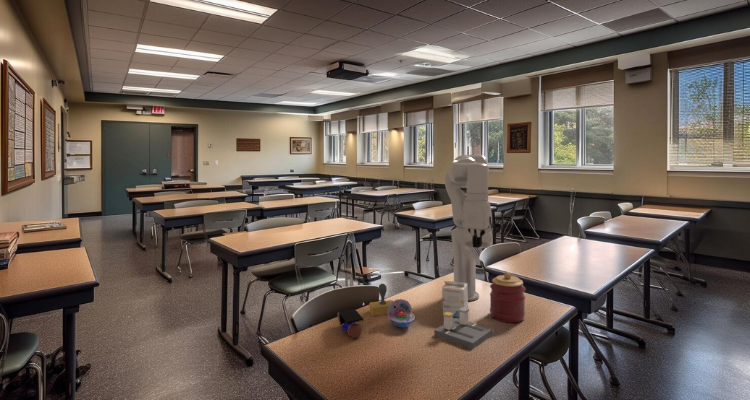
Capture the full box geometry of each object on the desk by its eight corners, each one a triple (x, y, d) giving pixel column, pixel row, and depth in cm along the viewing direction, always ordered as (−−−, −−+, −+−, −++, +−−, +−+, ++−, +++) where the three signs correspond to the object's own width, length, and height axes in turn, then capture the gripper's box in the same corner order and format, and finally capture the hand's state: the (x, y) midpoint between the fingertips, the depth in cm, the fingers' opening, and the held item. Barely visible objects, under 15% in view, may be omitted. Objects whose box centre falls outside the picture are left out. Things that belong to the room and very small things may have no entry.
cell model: (395, 334, 137) (394, 308, 136) (383, 321, 149) (383, 297, 148) (420, 330, 140) (420, 304, 139) (407, 317, 152) (407, 293, 151)
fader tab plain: (458, 323, 139) (458, 309, 139) (462, 321, 141) (462, 307, 140) (465, 325, 137) (465, 311, 137) (468, 323, 139) (468, 308, 139)
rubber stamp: (392, 308, 162) (392, 280, 160) (396, 313, 156) (396, 284, 155) (369, 311, 159) (368, 282, 158) (372, 316, 154) (372, 287, 152)
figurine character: (336, 329, 146) (347, 342, 132) (335, 309, 146) (346, 319, 132) (353, 326, 148) (366, 338, 134) (352, 306, 148) (365, 316, 134)
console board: (434, 335, 136) (434, 329, 135) (455, 322, 146) (455, 317, 145) (473, 349, 125) (473, 342, 125) (492, 334, 135) (493, 328, 135)
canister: (482, 314, 153) (483, 270, 151) (506, 307, 159) (506, 266, 157) (507, 326, 142) (508, 279, 140) (532, 318, 148) (533, 273, 146)
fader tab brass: (443, 328, 135) (443, 313, 135) (447, 325, 137) (447, 311, 137) (449, 330, 134) (449, 315, 133) (453, 327, 135) (453, 313, 135)
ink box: (468, 310, 157) (468, 278, 155) (464, 318, 149) (464, 285, 148) (447, 308, 160) (447, 276, 159) (442, 315, 153) (442, 282, 152)
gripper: (454, 197, 143) (454, 246, 145) (491, 199, 133) (491, 251, 134) (464, 195, 148) (464, 242, 150) (501, 197, 138) (500, 248, 140)
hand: (477, 246), depth 142 cm, fingers closed
